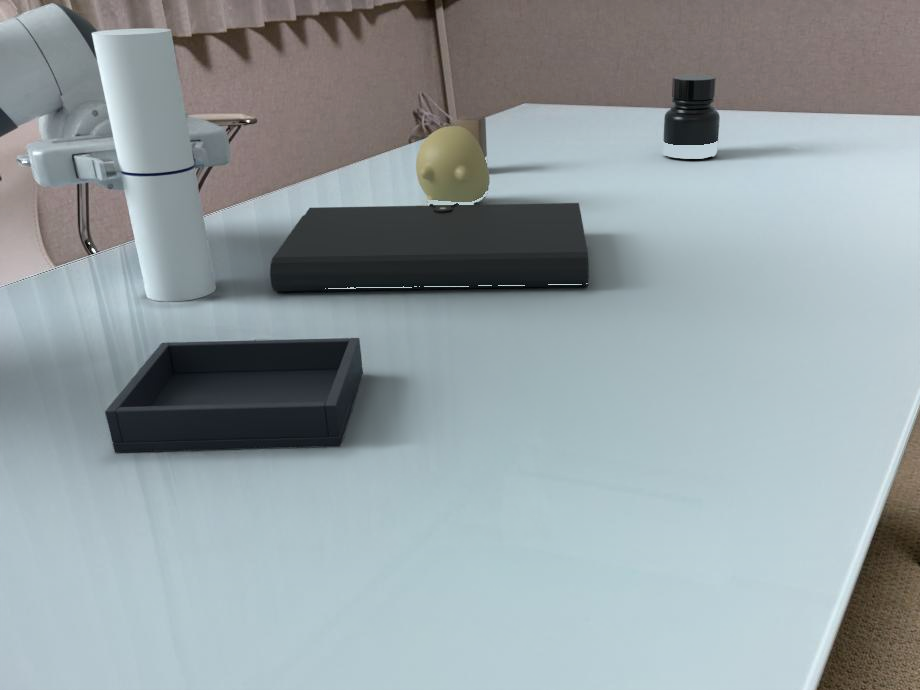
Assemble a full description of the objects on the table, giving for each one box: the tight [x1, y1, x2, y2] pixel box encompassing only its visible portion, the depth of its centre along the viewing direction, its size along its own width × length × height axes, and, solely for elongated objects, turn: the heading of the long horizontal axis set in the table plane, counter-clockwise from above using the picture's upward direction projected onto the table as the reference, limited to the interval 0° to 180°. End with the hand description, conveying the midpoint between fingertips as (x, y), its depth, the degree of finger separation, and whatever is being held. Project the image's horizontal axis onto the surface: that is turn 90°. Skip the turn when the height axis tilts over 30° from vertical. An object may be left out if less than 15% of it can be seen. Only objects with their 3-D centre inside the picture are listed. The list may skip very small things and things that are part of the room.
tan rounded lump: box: [415, 125, 491, 202], centre depth 141 cm, size 10×12×11 cm
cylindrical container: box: [92, 27, 217, 303], centre depth 105 cm, size 7×7×25 cm
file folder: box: [269, 202, 590, 293], centre depth 119 cm, size 33×4×24 cm
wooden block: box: [454, 115, 488, 157], centre depth 163 cm, size 4×4×8 cm
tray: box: [104, 337, 364, 453], centre depth 83 cm, size 17×15×3 cm
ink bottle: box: [662, 74, 721, 145], centre depth 170 cm, size 10×9×12 cm
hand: (155, 164), depth 105 cm, fingers open, 8 cm apart
